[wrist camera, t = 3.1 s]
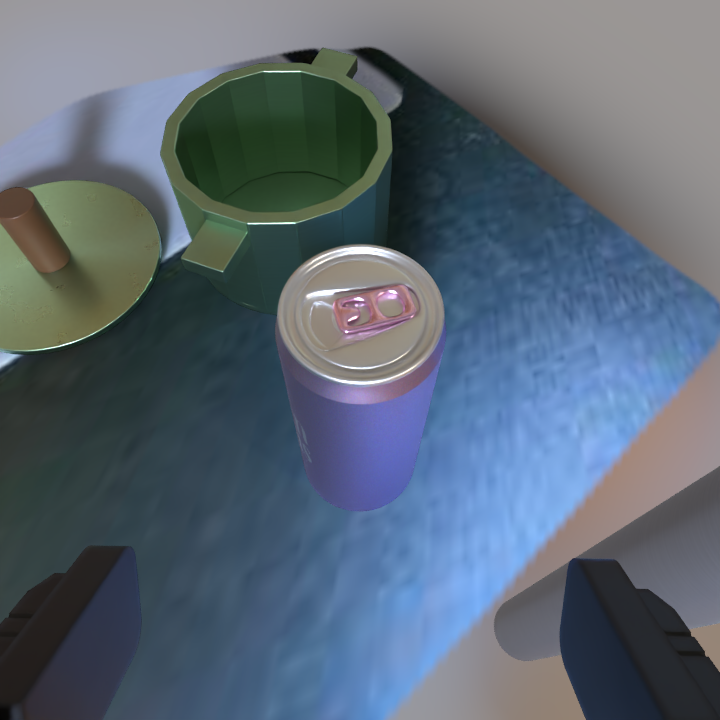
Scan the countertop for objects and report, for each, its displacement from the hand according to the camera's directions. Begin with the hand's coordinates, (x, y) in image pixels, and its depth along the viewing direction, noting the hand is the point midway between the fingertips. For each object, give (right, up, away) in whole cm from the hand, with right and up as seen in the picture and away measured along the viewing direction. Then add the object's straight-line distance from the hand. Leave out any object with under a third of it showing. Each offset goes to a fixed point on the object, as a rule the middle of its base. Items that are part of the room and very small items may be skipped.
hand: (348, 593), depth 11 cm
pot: (-4, +13, +30) cm, 33 cm away
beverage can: (0, -1, +22) cm, 22 cm away
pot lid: (-19, +11, +28) cm, 36 cm away
